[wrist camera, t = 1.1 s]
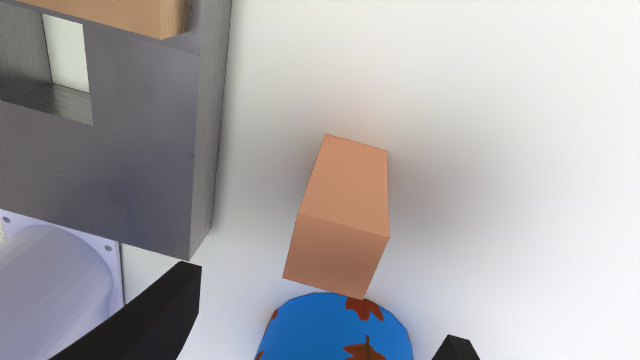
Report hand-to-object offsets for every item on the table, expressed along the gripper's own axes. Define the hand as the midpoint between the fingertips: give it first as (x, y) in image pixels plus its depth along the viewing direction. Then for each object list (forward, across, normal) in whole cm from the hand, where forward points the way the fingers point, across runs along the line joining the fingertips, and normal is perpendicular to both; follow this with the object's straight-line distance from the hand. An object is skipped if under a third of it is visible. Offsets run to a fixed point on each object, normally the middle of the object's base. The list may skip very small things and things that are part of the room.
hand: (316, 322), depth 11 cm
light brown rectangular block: (+10, 0, 0) cm, 10 cm away
